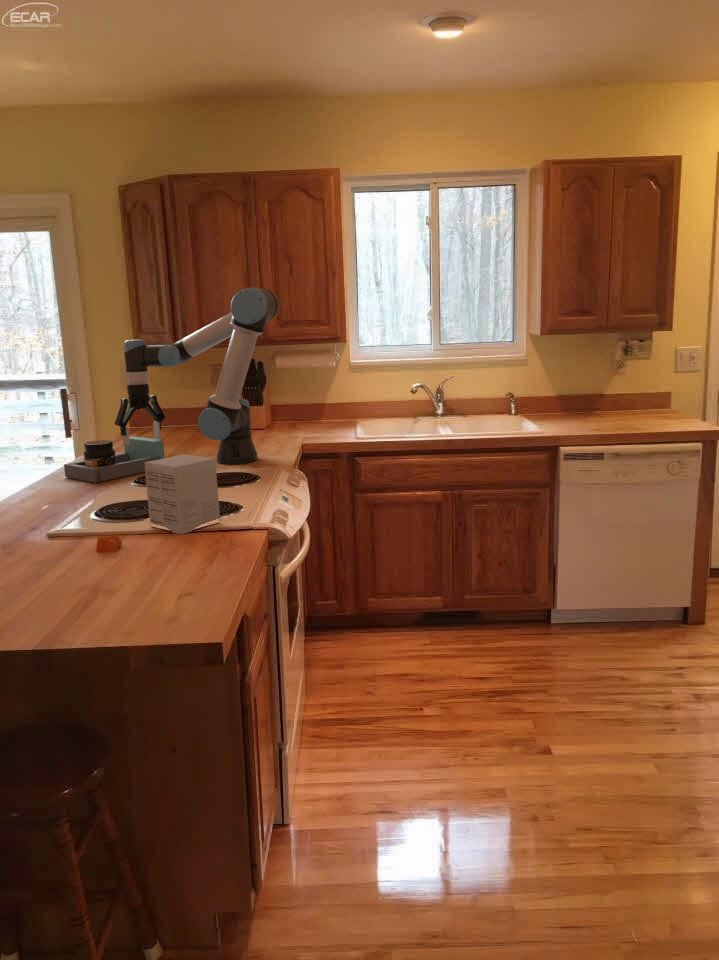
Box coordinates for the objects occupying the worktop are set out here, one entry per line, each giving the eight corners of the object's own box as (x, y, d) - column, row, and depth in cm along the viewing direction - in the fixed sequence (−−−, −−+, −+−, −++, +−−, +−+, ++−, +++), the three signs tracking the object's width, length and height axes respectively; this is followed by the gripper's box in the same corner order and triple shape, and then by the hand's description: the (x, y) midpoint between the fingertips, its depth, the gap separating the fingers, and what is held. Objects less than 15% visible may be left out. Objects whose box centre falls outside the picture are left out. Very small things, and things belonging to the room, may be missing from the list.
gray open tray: (165, 467, 283) (163, 439, 280) (95, 482, 260) (92, 453, 258) (135, 462, 293) (132, 436, 291) (65, 477, 271) (62, 448, 269)
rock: (142, 543, 193) (140, 526, 192) (128, 558, 181) (126, 541, 180) (93, 544, 193) (91, 527, 192) (76, 560, 181) (74, 542, 180)
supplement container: (85, 480, 266) (81, 445, 264) (86, 474, 276) (83, 441, 274) (117, 477, 269) (113, 443, 266) (118, 472, 279) (114, 438, 276)
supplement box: (189, 516, 214) (184, 453, 211) (221, 523, 206) (216, 458, 202) (149, 527, 204) (142, 461, 201) (180, 535, 196) (174, 467, 192)
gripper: (159, 379, 292) (163, 436, 296) (101, 385, 273) (106, 445, 277) (172, 380, 287) (176, 437, 292) (114, 387, 268) (119, 447, 273)
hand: (142, 441), depth 285 cm, fingers open, 13 cm apart
